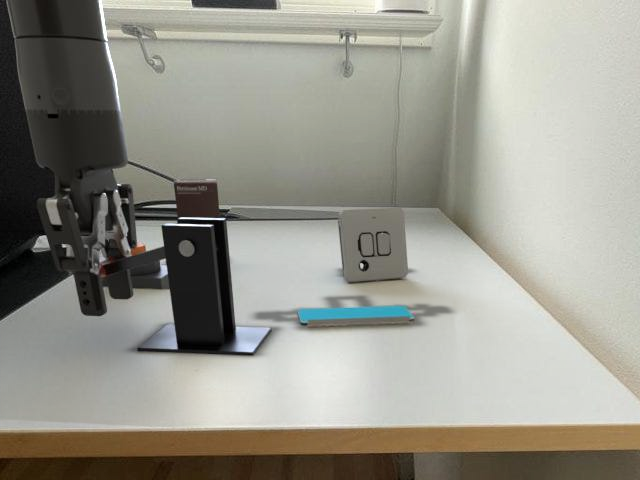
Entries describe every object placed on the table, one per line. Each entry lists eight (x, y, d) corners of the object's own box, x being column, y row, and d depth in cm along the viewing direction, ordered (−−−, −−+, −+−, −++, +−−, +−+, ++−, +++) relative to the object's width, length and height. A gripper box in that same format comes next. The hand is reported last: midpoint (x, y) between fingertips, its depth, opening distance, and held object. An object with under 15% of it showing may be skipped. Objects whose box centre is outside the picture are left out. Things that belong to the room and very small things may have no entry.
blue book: (426, 303, 81) (427, 290, 80) (453, 332, 70) (454, 316, 70) (262, 309, 78) (261, 294, 77) (264, 339, 68) (263, 323, 67)
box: (183, 272, 96) (172, 181, 90) (183, 266, 99) (172, 178, 93) (225, 270, 97) (217, 180, 91) (224, 264, 101) (216, 178, 95)
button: (113, 261, 84) (111, 247, 83) (125, 256, 87) (122, 242, 86) (140, 262, 84) (138, 248, 83) (151, 257, 87) (149, 243, 86)
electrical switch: (346, 284, 90) (343, 210, 86) (334, 279, 94) (331, 209, 90) (409, 279, 93) (409, 208, 89) (394, 275, 97) (394, 207, 93)
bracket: (138, 360, 62) (116, 227, 56) (168, 335, 69) (151, 214, 63) (253, 364, 61) (243, 229, 55) (272, 339, 68) (265, 216, 62)
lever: (86, 292, 60) (74, 266, 59) (112, 279, 65) (101, 254, 64) (206, 257, 58) (196, 229, 57) (224, 246, 63) (214, 220, 62)
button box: (86, 293, 84) (80, 261, 82) (113, 279, 91) (108, 249, 89) (163, 296, 83) (158, 263, 81) (183, 281, 90) (180, 251, 88)
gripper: (71, 106, 62) (104, 288, 70) (-21, 104, 50) (32, 326, 58) (148, 106, 61) (172, 290, 70) (75, 105, 49) (115, 329, 57)
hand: (108, 305), depth 64 cm, fingers closed on lever, 5 cm apart
